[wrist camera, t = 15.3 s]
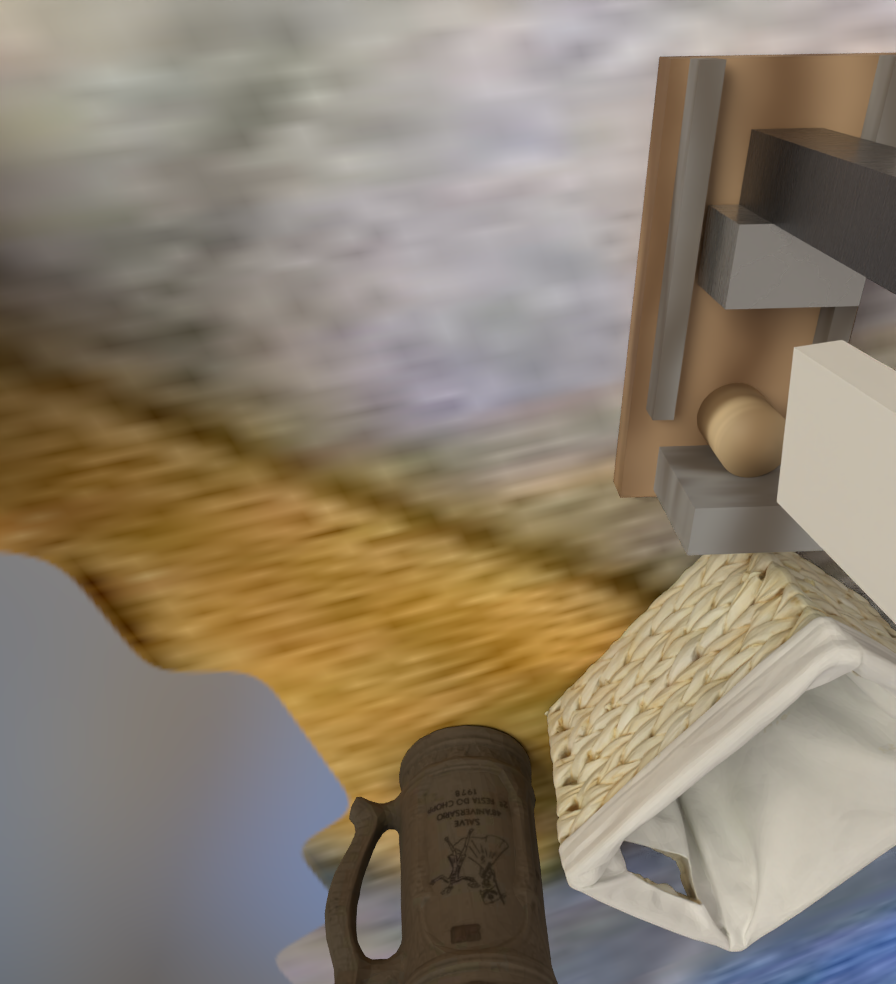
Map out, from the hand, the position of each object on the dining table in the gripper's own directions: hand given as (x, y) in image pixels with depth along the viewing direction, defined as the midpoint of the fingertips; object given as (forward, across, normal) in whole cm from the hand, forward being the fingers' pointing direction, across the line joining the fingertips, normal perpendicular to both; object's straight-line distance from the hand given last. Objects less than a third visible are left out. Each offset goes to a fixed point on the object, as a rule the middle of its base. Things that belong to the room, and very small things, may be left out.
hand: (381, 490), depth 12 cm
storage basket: (+33, +21, -36) cm, 53 cm away
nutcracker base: (+32, +21, -9) cm, 39 cm away
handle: (+29, +21, -3) cm, 36 cm away
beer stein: (+35, -1, -46) cm, 57 cm away
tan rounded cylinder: (+30, +20, -15) cm, 39 cm away
